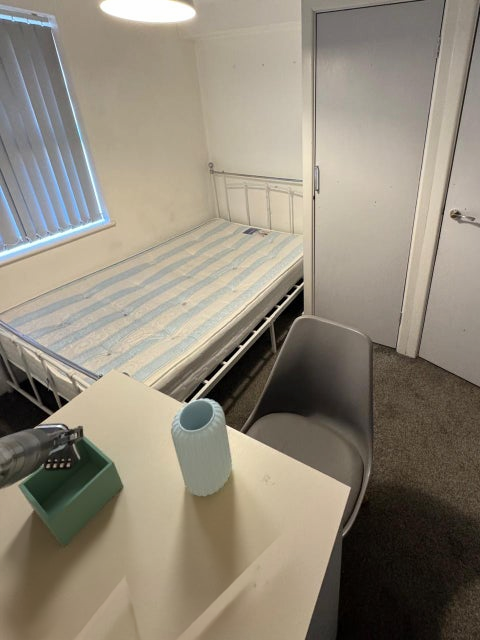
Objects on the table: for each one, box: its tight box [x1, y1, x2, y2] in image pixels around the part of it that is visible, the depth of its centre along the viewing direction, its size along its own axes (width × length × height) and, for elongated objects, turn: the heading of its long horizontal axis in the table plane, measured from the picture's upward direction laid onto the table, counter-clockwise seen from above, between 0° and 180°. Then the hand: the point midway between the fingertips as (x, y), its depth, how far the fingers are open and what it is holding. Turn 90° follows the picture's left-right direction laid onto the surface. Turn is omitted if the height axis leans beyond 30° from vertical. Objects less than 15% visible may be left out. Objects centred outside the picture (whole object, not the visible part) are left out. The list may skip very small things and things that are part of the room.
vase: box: [170, 397, 233, 497], centre depth 75 cm, size 12×12×22 cm
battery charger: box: [33, 422, 81, 471], centre depth 68 cm, size 7×4×11 cm, turn 93°
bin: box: [17, 434, 124, 548], centre depth 73 cm, size 13×13×10 cm
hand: (54, 440), depth 68 cm, fingers closed on battery charger, 7 cm apart
